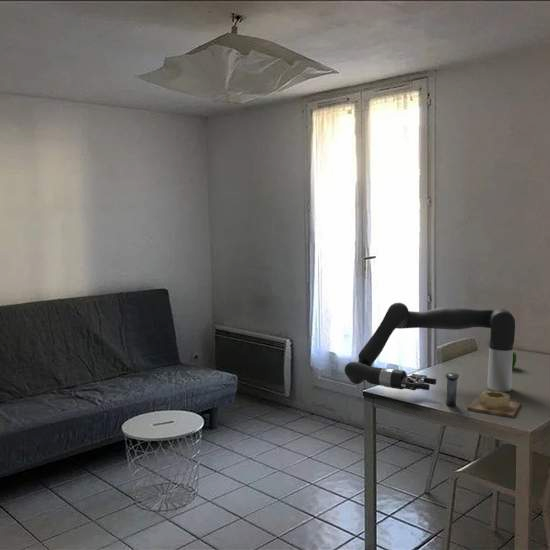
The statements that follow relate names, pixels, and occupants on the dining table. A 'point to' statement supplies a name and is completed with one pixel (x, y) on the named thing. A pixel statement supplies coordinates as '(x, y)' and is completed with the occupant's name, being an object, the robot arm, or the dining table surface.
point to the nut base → (493, 411)
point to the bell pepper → (513, 360)
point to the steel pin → (451, 389)
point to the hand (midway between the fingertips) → (432, 384)
